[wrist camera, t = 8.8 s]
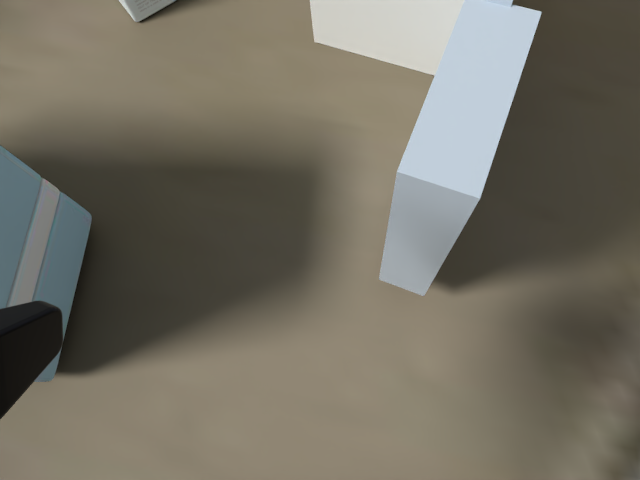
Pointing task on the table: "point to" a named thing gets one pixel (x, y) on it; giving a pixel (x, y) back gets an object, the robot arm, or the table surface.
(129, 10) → the supplement box
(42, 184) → the radio
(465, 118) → the camera side door
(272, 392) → the table surface
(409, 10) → the large white box
